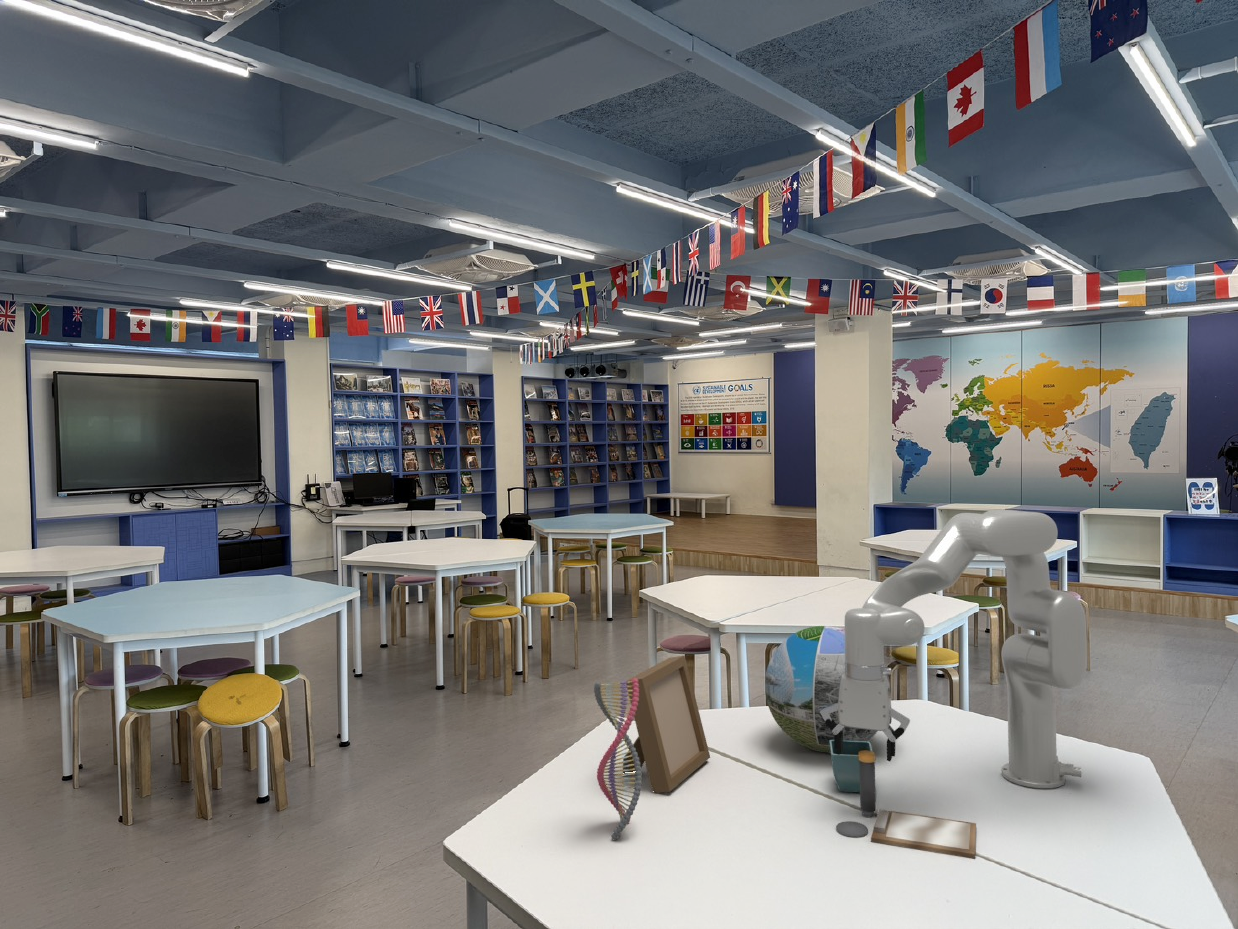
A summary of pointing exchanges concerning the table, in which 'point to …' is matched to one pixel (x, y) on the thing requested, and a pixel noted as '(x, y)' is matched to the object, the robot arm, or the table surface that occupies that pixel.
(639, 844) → the table surface
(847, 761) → the flower pot
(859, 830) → the dark grey disc
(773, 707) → the photo collage ball
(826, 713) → the robot arm
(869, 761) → the marker
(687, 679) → the photo frame
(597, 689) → the dna model
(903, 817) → the clipboard
